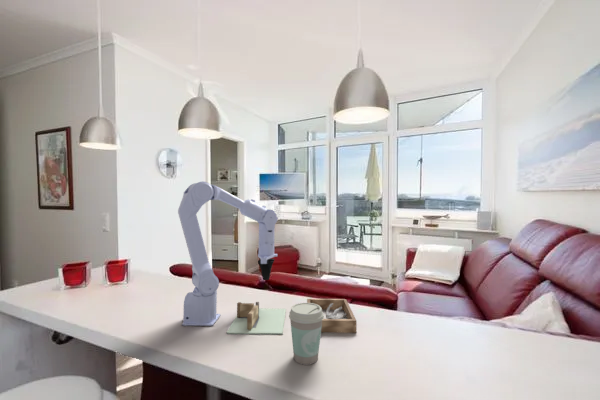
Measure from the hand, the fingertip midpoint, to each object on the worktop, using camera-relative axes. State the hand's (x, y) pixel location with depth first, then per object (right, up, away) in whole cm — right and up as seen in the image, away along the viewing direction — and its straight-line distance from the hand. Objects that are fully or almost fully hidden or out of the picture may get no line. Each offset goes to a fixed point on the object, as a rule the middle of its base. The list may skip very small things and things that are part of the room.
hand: (266, 279), depth 97 cm
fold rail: (-2, -9, -15) cm, 18 cm away
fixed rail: (-5, -9, -10) cm, 14 cm away
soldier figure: (+24, -10, -13) cm, 29 cm away
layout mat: (-1, -10, -12) cm, 15 cm away
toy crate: (+22, -10, -10) cm, 26 cm away
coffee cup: (+14, -10, -32) cm, 36 cm away
